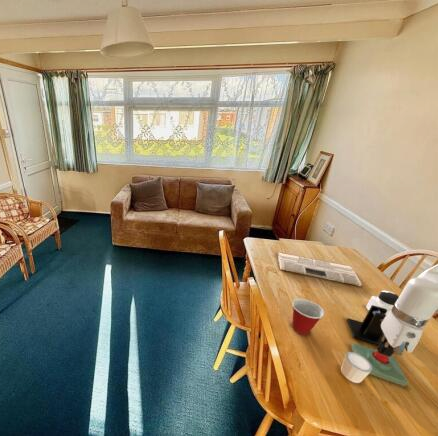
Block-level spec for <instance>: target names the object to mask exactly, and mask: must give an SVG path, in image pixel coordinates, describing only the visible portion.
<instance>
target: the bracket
mask: <svg viewBox="0 0 438 436" xmlns="http://www.w3.org/2000/svg"><path fill="white" fill-rule="evenodd" d="M378 309H379V310H380V311H382V312H383V313H384V314H386V312H387V309H385V308H381V307H377V306H373V305H372V306H371V308H370V310H369V311H368V310H367V311H368V312H367V313H366V315H365V316H364V319H363V320H362V321H359V320H356V319H352V318H348V317H347V318H346V322H347V325H348V328H349V329H350V330H349V331H350V332H351V336H352V338H353V339H355V340H358V341H360V342H364V343H366V344H367V343H368V344H371V345H374V346H377V347H378V346H379V344H380V343H381V342H383V341H382V337H383V335H384V334H383V331H382V329H381V323H382V321H383V320H384V318H385V317H386V315H384V314H381V313H377V312H376V313H375V314H373V311H375V310H378Z"/></svg>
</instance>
